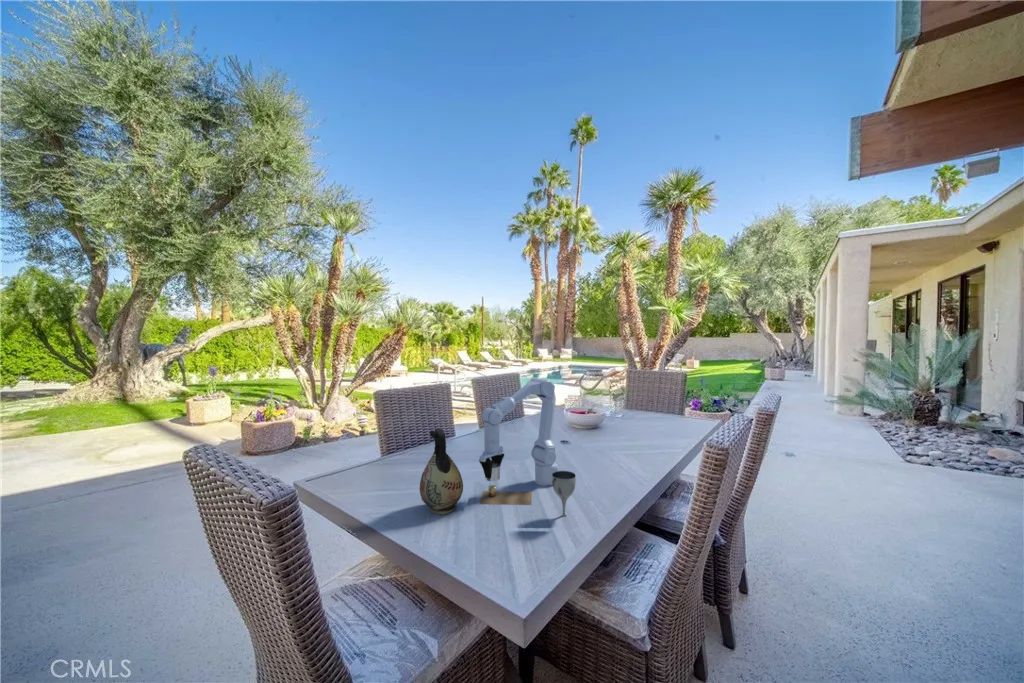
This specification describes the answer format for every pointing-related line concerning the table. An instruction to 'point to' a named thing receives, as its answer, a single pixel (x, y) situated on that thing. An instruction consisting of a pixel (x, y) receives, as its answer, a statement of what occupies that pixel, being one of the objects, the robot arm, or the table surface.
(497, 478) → the steel collar
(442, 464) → the ceramic jug
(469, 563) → the table surface
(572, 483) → the wine glass
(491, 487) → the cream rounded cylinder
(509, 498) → the walnut board
